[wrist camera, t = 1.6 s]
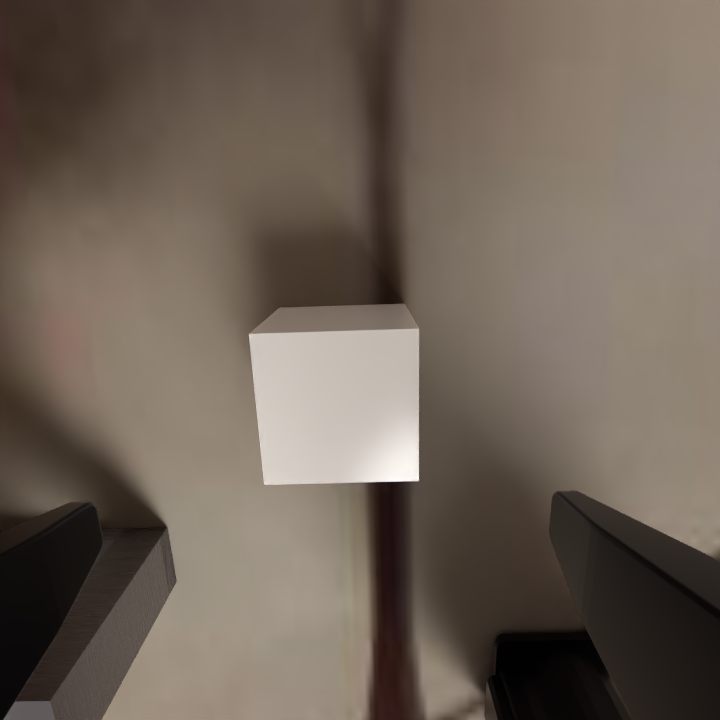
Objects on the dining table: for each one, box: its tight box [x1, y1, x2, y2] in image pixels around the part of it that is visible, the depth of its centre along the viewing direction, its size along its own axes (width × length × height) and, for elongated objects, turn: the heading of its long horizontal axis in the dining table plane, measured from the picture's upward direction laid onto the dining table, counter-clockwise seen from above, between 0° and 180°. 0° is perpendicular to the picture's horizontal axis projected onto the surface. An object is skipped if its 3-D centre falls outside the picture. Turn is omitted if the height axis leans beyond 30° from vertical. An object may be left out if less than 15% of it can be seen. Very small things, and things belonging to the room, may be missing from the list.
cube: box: [249, 304, 419, 485], centre depth 16 cm, size 5×5×5 cm
